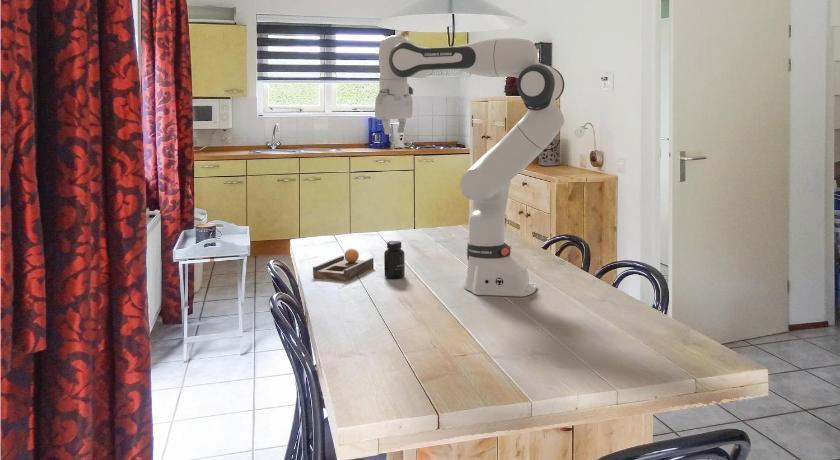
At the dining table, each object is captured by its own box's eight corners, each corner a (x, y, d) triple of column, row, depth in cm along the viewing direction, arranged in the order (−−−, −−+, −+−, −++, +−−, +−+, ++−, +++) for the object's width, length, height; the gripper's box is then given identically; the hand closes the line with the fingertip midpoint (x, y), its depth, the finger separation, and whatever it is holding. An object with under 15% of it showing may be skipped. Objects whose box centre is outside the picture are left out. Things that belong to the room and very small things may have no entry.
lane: (373, 268, 238) (373, 258, 238) (346, 281, 221) (346, 270, 221) (341, 265, 243) (341, 255, 243) (313, 277, 226) (312, 267, 226)
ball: (361, 261, 238) (361, 247, 237) (354, 264, 234) (354, 250, 233) (349, 260, 240) (348, 246, 239) (342, 263, 236) (341, 249, 235)
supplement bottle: (402, 279, 222) (401, 244, 219) (382, 279, 223) (381, 243, 221) (406, 274, 228) (406, 240, 226) (387, 274, 230) (386, 239, 227)
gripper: (387, 88, 201) (388, 135, 204) (415, 89, 219) (416, 132, 222) (369, 89, 204) (370, 135, 206) (398, 90, 222) (399, 132, 225)
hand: (394, 133), depth 214 cm, fingers open, 8 cm apart
